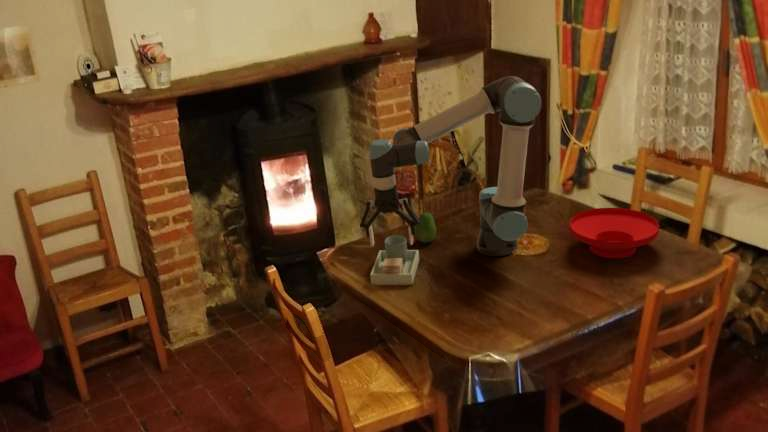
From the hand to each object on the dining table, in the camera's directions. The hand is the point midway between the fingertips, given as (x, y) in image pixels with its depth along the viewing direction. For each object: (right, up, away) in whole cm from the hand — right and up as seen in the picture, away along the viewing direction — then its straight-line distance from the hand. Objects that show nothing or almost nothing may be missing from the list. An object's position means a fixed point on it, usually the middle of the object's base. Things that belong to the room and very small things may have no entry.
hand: (392, 244), depth 280 cm
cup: (+2, -8, +13) cm, 16 cm away
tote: (+1, -10, +10) cm, 15 cm away
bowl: (+79, -2, +12) cm, 80 cm away
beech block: (+1, -12, +5) cm, 13 cm away
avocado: (+13, 0, +32) cm, 35 cm away
